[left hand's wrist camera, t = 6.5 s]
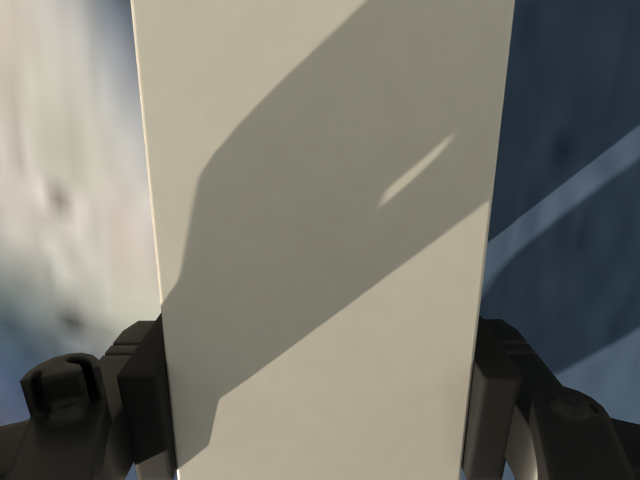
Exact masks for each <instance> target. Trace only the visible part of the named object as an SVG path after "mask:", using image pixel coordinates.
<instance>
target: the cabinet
mask: <svg viewBox="0 0 640 480" xmlns="http://www.w3.org/2000/svg"><path fill="white" fill-rule="evenodd" d="M514 4H515V0H131V8H132V18H133V28H134V39H135V49H136V59H137V69H138V79H139V89H140V99H141V110H142V120H143V130H144V140H145V150H146V160H147V170H148V181H149V191H150V201H151V211H152V221H153V231H154V241H155V252H156V262H157V272H158V282H159V292H160V302H161V312H162V323H163V333H164V343H165V353H166V363H167V373H168V383H169V394H170V404H171V414H172V424H173V434H174V444H175V454H176V465H177V475H178V480H460V477H461V468H462V459H463V451H464V442H465V433H466V424H467V416H468V407H469V398H470V389H471V381H472V372H473V363H474V354H475V346H476V337H477V328H478V319H479V311H480V302H481V293H482V284H483V276H484V267H485V258H486V249H487V241H488V232H489V223H490V214H491V205H492V197H493V188H494V179H495V170H496V162H497V153H498V144H499V135H500V127H501V118H502V109H503V100H504V92H505V83H506V74H507V65H508V57H509V48H510V39H511V30H512V22H513V13H514Z"/></svg>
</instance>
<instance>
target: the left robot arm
mask: <svg viewBox="0 0 640 480" xmlns="http://www.w3.org/2000/svg"><path fill="white" fill-rule="evenodd" d="M20 383H21V386H22V390H23V393H24V396H25V399H26V403H27V406H28V409H29V412H30V416H31V417H30V419H29V420H26V421H23V422H18V423H14V424H9V425H5V426H0V480H125V478H126V476H127V474H128V472H129V470H130V468H131V466H132V464H133V462H134V464H135V469H136V473H137V478H138V480H173V479H174V476H175V473H176V471H177V465H176V454H175V444H174V434H173V424H172V414H171V404H170V394H169V383H168V373H167V363H166V353H165V343H164V333H163V323H162V312H161V314H160V315H159V317H158V318H157V320H156V321H138V322H136V323H134V324H133V325H131V326H130V327H128V328H127V329H125V330H124V331H123V332H122V333H121V334H120V335H119V337H118V338H117V339H116V340H115V342H114V343H113V345H111V346H110V348H109V349H108V350H107V351H106V353H105V356H102V358H101V359H100V360H98V359H97V358H96V357H94V356H93V355H91V354H85V353H73V354H66V355H62V356H58V357H54V358H52V359H49V360H47V361H45V362H43V363H40V364H39V365H37V366H36V367H34V368H33V369H31V370H30V371H28V372H27V373H26V374H25V376H24V377H23V378H22V379H21V381H20ZM506 461H507V463H508V465H509V467H510V469H511V471H512V473H513V475H514V477H515V480H640V425H639V424H634V423H630V422H625V421H621V420H617V419H613V418H610V416H609V415H608V414H607V412H606V411H605V409H604V408H603V406H601V405H600V404H599V403H598V402H596V401H595V400H594V399H592V398H591V397H589V396H587V395H585V394H583V393H581V392H579V391H577V390H574V389H570V388H567V387H564V386H562V385H561V383H560V382H559V381H558V380H557V378H556V377H555V376H554V375H553V374H552V372H551V371H550V370H549V369H548V367H547V366H546V365H545V364H544V362H543V361H542V360H541V359H540V358H539V356H538V355H537V354H535V351H534V350H533V349H532V348H531V346H530V345H529V344H527V341H526V340H525V339H524V338H523V337H522V335H521V334H520V333H519V332H518V330H517V329H515V328H514V327H512V326H511V325H509V324H507V323H506V322H504V321H503V320H501V319H482V317H481V316H480V314H479V319H478V328H477V337H476V346H475V354H474V363H473V372H472V381H471V389H470V398H469V407H468V416H467V424H466V433H465V442H464V451H463V459H462V469H463V472H464V474H465V477H466V480H502V476H503V471H504V467H505V462H506Z"/></svg>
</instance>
